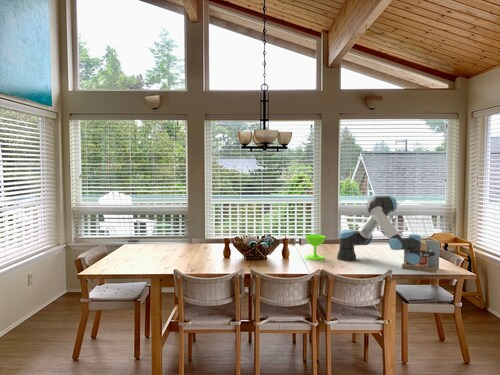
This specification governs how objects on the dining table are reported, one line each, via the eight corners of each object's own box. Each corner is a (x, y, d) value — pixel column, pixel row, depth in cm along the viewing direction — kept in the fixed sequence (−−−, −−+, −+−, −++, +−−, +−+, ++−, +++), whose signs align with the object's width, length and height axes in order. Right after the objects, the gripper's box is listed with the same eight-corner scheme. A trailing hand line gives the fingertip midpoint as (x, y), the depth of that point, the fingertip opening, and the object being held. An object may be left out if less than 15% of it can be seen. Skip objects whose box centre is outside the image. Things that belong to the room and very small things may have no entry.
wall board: (400, 268, 285) (401, 241, 284) (404, 264, 297) (404, 238, 297) (436, 272, 272) (437, 244, 271) (438, 268, 285) (439, 241, 284)
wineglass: (311, 260, 306) (311, 238, 306) (301, 256, 321) (301, 235, 321) (328, 259, 312) (329, 237, 312) (318, 255, 327) (318, 234, 327)
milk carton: (418, 266, 279) (419, 238, 280) (410, 263, 288) (411, 236, 289) (429, 266, 281) (430, 238, 282) (420, 263, 290) (421, 236, 291)
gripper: (397, 258, 276) (403, 253, 294) (436, 263, 263) (439, 257, 281) (397, 248, 276) (403, 243, 294) (436, 252, 263) (439, 247, 281)
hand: (420, 250), depth 288 cm, fingers open, 13 cm apart
